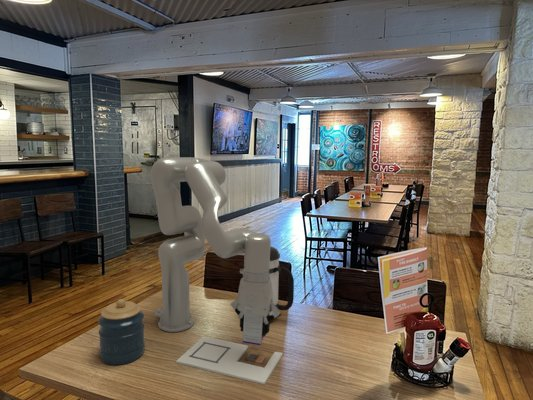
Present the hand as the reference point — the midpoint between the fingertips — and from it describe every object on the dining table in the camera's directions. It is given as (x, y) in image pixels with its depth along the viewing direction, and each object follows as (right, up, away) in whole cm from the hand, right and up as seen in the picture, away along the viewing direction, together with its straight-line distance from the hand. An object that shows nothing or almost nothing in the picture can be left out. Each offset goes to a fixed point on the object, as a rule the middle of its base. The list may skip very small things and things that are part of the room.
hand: (254, 331), depth 113 cm
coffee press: (+3, -5, +28) cm, 29 cm away
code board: (-7, -8, 0) cm, 11 cm away
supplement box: (0, -3, 0) cm, 3 cm away
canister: (-41, -8, +2) cm, 41 cm away
